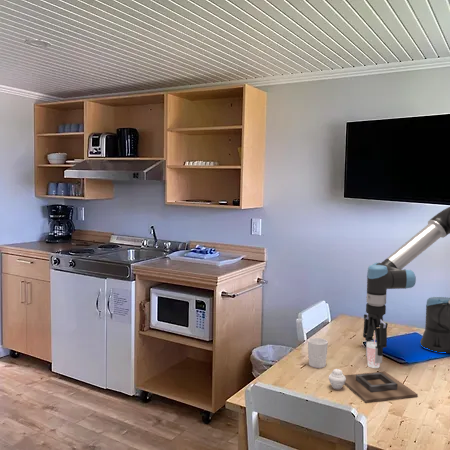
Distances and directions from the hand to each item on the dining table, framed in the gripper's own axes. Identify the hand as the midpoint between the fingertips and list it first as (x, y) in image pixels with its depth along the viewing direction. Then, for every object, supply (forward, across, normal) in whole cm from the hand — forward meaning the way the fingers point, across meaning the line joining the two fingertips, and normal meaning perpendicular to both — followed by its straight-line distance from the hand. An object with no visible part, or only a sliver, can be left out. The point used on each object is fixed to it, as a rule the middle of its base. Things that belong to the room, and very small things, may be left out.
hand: (373, 359), depth 188 cm
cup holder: (+3, +18, -10) cm, 21 cm away
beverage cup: (+3, 0, 0) cm, 3 cm away
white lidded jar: (+3, +15, -24) cm, 28 cm away
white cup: (+3, -6, -22) cm, 23 cm away
